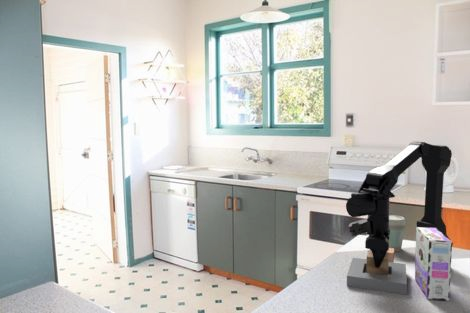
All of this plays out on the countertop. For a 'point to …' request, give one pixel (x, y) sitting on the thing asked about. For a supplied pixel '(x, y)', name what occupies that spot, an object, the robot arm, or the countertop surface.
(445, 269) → the candy box
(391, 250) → the peach cube
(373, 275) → the grey slotted square board
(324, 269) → the countertop surface
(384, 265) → the walnut block
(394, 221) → the coffee cup
